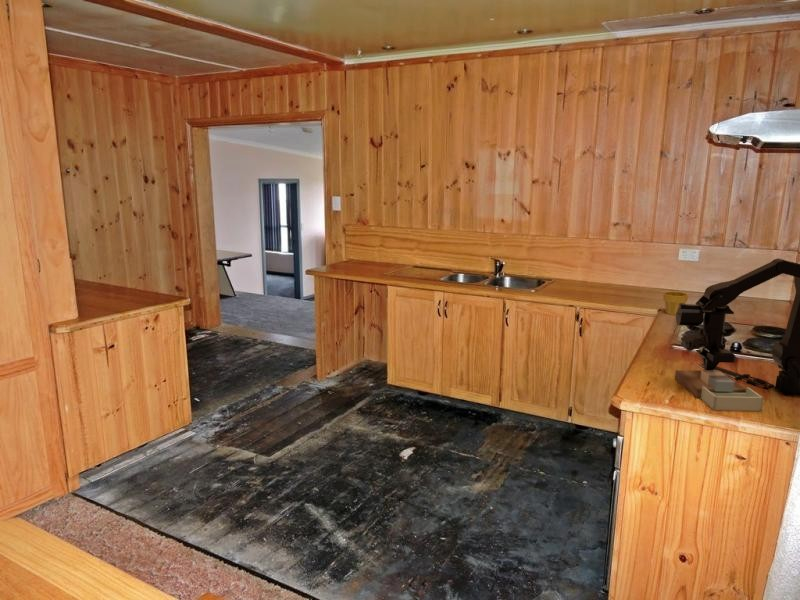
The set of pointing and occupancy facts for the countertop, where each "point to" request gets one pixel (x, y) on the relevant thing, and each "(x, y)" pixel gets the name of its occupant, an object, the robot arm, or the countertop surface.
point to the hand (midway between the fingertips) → (707, 374)
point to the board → (700, 382)
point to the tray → (733, 400)
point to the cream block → (709, 374)
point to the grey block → (721, 383)
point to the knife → (740, 377)
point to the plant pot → (674, 301)
